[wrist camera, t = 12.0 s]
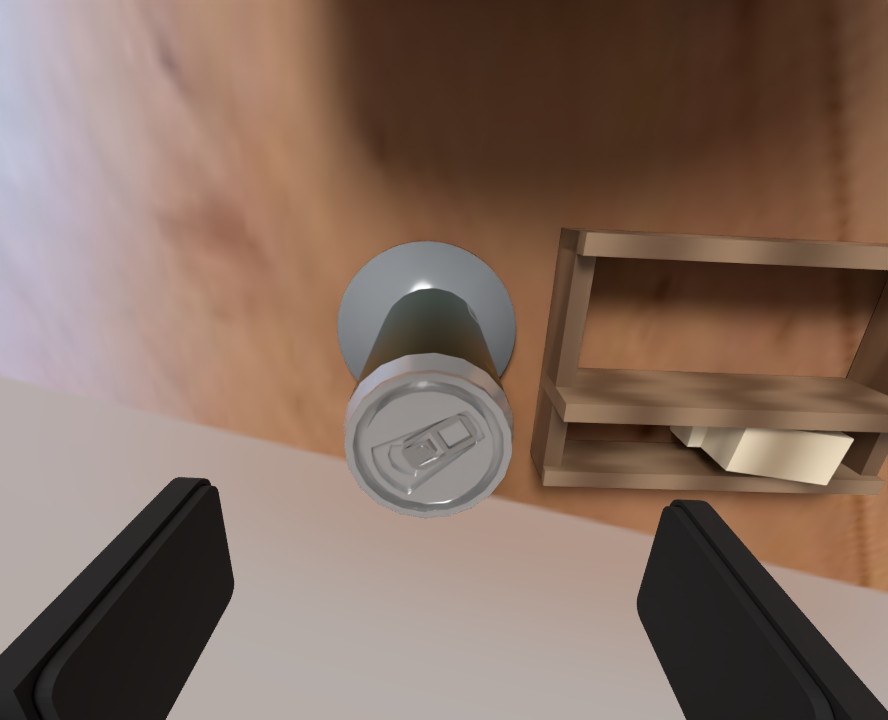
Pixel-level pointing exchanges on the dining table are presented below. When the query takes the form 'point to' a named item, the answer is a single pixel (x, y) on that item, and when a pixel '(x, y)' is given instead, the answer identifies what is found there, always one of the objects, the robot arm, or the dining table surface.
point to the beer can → (429, 411)
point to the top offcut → (778, 452)
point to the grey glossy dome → (423, 270)
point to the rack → (701, 380)
